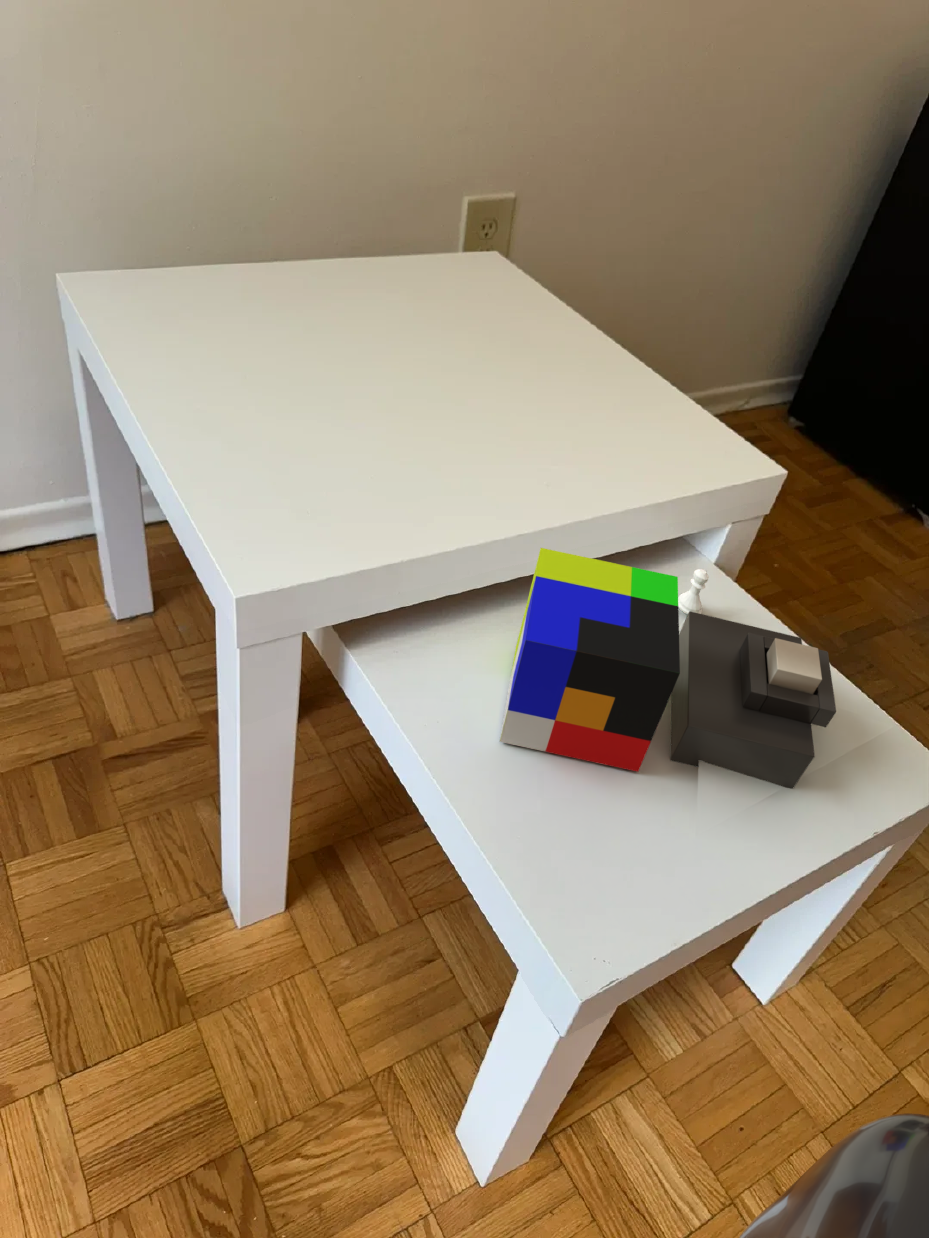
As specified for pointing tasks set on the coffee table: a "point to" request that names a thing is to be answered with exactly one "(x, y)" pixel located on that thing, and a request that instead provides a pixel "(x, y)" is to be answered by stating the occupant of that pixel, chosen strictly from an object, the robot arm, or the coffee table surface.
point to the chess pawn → (693, 593)
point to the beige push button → (793, 666)
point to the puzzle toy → (593, 660)
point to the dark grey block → (742, 703)
